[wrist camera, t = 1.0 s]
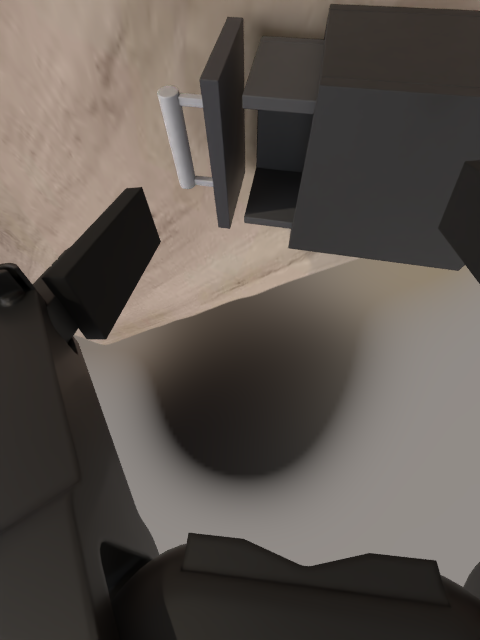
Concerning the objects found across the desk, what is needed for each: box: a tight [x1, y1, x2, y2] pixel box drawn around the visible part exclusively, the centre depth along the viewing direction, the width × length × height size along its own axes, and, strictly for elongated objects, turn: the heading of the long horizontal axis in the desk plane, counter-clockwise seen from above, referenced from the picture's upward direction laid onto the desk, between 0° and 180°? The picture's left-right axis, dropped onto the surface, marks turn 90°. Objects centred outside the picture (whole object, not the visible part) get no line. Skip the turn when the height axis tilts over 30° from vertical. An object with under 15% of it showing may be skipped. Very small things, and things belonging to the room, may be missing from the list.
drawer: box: [157, 17, 325, 229], centre depth 24 cm, size 19×13×8 cm, turn 91°
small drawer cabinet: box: [288, 4, 480, 271], centre depth 23 cm, size 16×14×10 cm
